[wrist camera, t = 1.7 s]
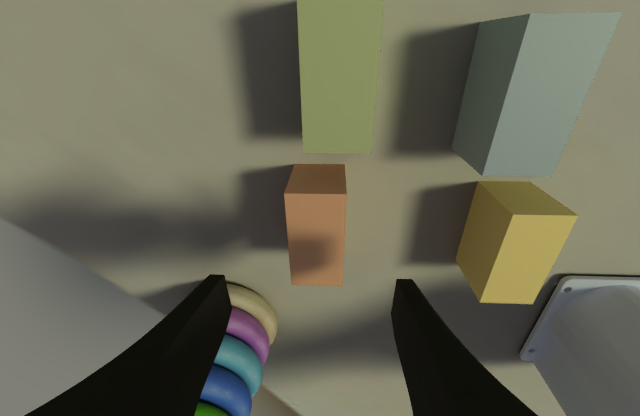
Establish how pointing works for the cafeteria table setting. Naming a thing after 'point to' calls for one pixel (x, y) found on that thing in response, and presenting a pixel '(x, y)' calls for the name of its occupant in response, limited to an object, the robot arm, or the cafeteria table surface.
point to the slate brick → (528, 89)
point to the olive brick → (338, 73)
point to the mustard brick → (511, 240)
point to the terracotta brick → (316, 223)
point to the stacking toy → (239, 356)
